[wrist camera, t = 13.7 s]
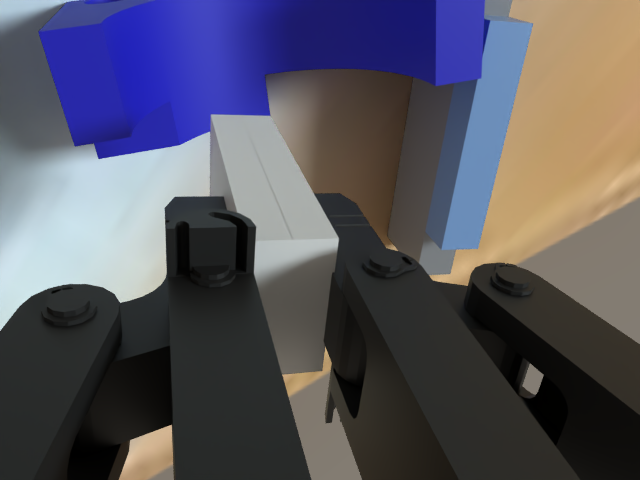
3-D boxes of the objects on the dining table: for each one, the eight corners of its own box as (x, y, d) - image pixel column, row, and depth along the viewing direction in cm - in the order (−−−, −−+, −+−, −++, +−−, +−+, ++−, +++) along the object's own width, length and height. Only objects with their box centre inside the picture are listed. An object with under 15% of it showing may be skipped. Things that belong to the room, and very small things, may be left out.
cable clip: (104, 130, 22) (90, 196, 17) (67, 1, 20) (38, 31, 15) (408, 80, 24) (479, 125, 19) (407, -42, 22) (486, -29, 16)
